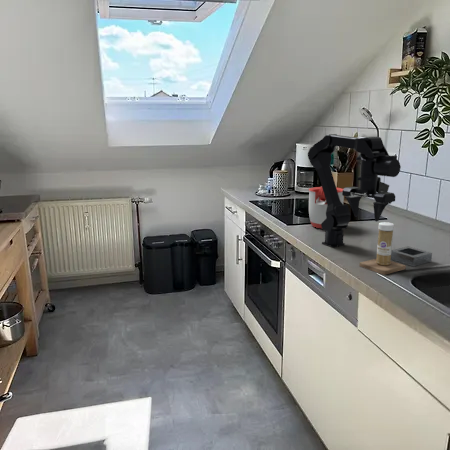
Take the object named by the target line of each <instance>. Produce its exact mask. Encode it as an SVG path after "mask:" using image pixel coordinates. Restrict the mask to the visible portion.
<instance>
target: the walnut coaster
mask: <svg viewBox="0 0 450 450" xmlns="http://www.w3.org/2000/svg"><path fill="white" fill-rule="evenodd" d="M376 260H377V257H376V258H373V259H369V260H364V261H361V262H359V265H358V266H359V267H360V268H364V269H366V270H370V271H372V272H376V273H378V274H380V275H382V276H386V275H389V274H393V273H397V272H399V271H403V270H406V268H407V264H404V263H401V262H397V261H394V260H390V262H391V264H390V265H379V264H377V263H376Z"/></svg>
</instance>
